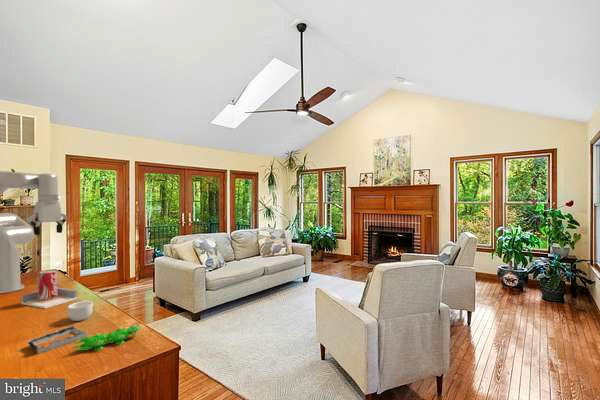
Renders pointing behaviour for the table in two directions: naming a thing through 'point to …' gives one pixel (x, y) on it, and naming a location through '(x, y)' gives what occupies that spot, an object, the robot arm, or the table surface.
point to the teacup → (80, 310)
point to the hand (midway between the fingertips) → (48, 233)
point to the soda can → (47, 284)
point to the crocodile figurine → (106, 338)
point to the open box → (62, 297)
